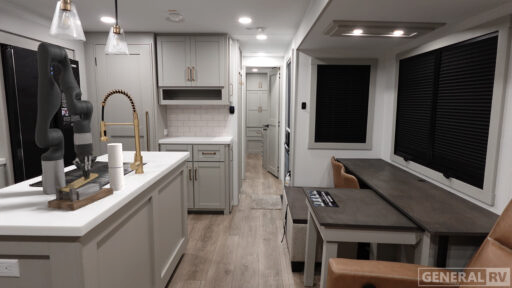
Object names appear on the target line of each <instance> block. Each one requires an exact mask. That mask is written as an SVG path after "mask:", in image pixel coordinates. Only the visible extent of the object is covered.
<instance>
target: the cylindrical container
mask: <svg viewBox="0 0 512 288" xmlns="http://www.w3.org/2000/svg"><path fill="white" fill-rule="evenodd" d="M106 147H107V148H106V149H107V164H108V165H107V166H108V179H109V188H113V192H118V191H122V190H124V189H125V175H124V160H123V159H124V158H123V157H124V156H123V143H120V142H115V143H114V142H113V143H107V144H106Z"/></svg>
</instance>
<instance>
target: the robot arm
mask: <svg viewBox="0 0 512 288" xmlns="http://www.w3.org/2000/svg"><path fill="white" fill-rule="evenodd" d="M36 57H37V58H36V59H37V60H36V61H37V70H38V73H37V74H38V84H37V85H38V86H37V87H38V88H37V116H36V125H35V126H36V127H35V134H34V140H35V141H34V142H35V144H36V145H37V147H39V148H41V149H44V148H46V149H47V148H49V150H48V151H46V152H45V153H43V154H42V155H41V157H40V160H41V169H42V174H41V183H42V192H43V193H44V194H46V195H54V194H55V195H56V191H55V187H59V186H61V187H62V188H63V187H64V186H66V175H65V174H66V173H65V164H64V163H65V162H64V155H65V139H64V138H65V137H64V134H63V132H62V130H61V129H59V128H50V125H51V124H50V123H51V121H52V119H53V118H54V116H55V114H56V113H57V111H58V110H59V108H60V107H61V103H62V102H61V101H62V100H61V99H62V93H63V95H64V99H65V105H66V111H67V112H68V113H69V114H70V115H71V116H81V118H80V119H78V120H74V121H73V122H72V127H73V128H72V131H73V145H74V152H75V153H76V156H75V160H72V161H71V162H72V164H73V165H74V166H75V168H76V169H77V170H79V171H82V177H84V178H88V177H90V173H91V171H90V170H91V169H92V168H93V167H94V165H95V164H96V161H97V158H98V157H97V156H95V155H94V153H93V152H94V144H93V136H92V127H91V124H92V123H91V122H92V118H93V113H94V106H93V103H92V102H91V101H90V100H88V99H87V100H83V99H81V100H80V98H82V96H83V93H82V90H81V89H80V86H79V84H78V82H77V80H76V77H75V75H74V73H73V68H72V65H71V61H70V58H69V54H68V52H67V50H66V49H65V47H63V46H61V45H59V44H58V45H57V44H52V43H47V42H40V43H39V44H38V46H37V50H36ZM50 64H51V65H58V66H59V67H60V69H61V74H60V77H59V85H58V83H57V82H56V81H55V79H54V78H53V76H52V73H51V65H50ZM59 86H60V87H59Z"/></svg>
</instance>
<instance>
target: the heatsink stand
mask: <svg viewBox="0 0 512 288" xmlns="http://www.w3.org/2000/svg"><path fill="white" fill-rule="evenodd" d="M60 188H62V187H61V186H59V187H55V191H56V193H55V198H54V199H50V200H48V201H47V208H48V209H54V210H64V211H73V212H74V211H77V210H79V209H82V208H85V207H86V206H89V205H92V204H93V203H95V202H98V201H100V200H103V199H105V198H107V197H109V196H112V195H114V191H113V188H110V187H103V184H102V181H100V180H98V181H97V180H90V181H88V182H86V183H85V184H83V185H81V186H79V187H77V188H70V189H69V192H64V191H60V190H59V189H60Z"/></svg>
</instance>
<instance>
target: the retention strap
mask: <svg viewBox="0 0 512 288" xmlns="http://www.w3.org/2000/svg"><path fill="white" fill-rule="evenodd" d="M98 176H99V174H98V173H92V172H90V177H88V178H84V177H83V176H82V177H80V178H78V179H76V180H73V181H72V182H70V183H68V184H67V185H66V184H65V185H66V186H64V187H63V188H60V189H59V190H60V191H64V192H69V189H70V188H77V187H79V186H81V185H83V184H85V183H87V182H89V181H93V179H95V178H98Z"/></svg>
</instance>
